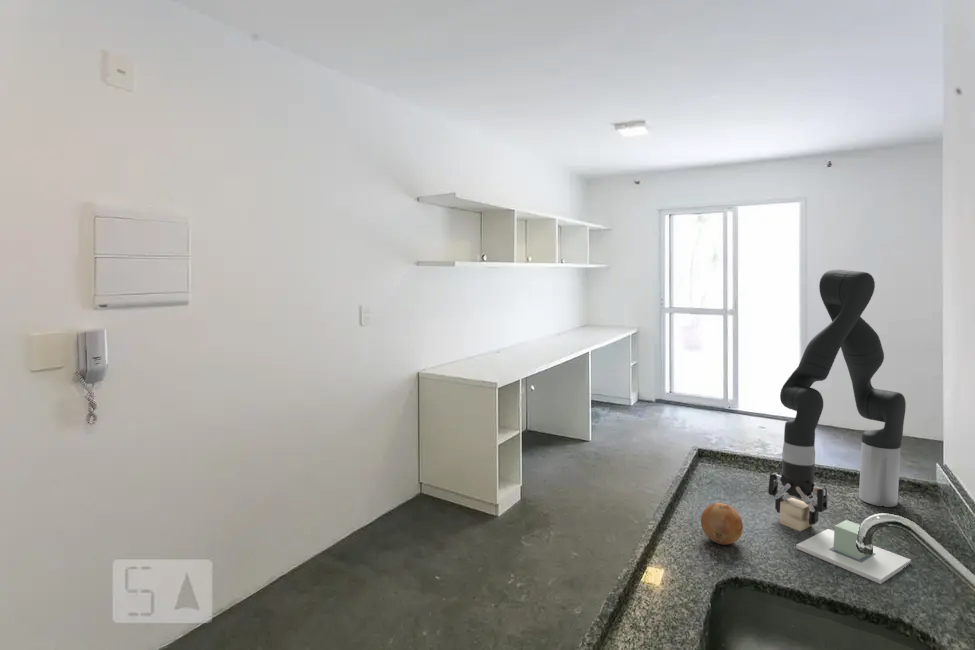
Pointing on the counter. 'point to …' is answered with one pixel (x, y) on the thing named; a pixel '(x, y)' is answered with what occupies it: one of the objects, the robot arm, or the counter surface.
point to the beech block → (794, 514)
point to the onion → (721, 523)
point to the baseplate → (869, 566)
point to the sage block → (847, 539)
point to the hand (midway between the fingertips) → (795, 517)
